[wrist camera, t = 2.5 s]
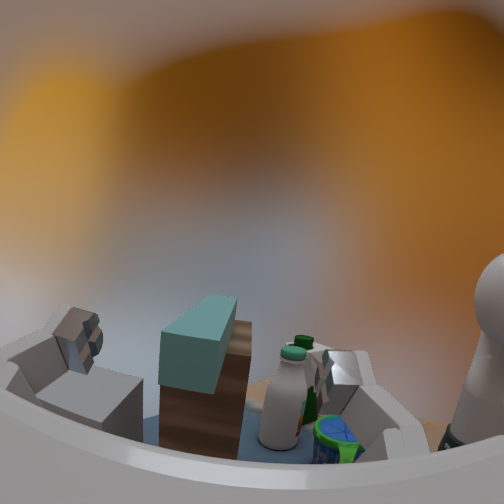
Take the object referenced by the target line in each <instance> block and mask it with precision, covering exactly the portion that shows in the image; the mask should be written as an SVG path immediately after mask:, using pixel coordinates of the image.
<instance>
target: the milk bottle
mask: <svg viewBox="0 0 504 504" xmlns="http://www.w3.org/2000/svg"><path fill="white" fill-rule="evenodd" d="M306 355H307V351H306V350H305V349H304V348H301V347H297V346H284V347H282V349H281V357H280V359H281V362H280V365H279V368H278V369H277V371H276V372H275V374H274V375H273V377H272V378H271V380H270V382H269V384H268V387H267V391H266V395H265V401H264V406H263V412H262V418H261V424H260V430H259V436H258V438H259V441H260V443H261V444H262V445H264V446H265V447H267V448H270V449H274V450H288V449H291V448H293V447H294V446H295V445H296V444H297V441H298V437H299V433H300V429H301V424H302V420H303V415H304V410H305V405H306V400H307V383H306V379H305V376H304V370H303V364H304V363H305V359H306Z"/></svg>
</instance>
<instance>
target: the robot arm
mask: <svg viewBox="0 0 504 504" xmlns="http://www.w3.org/2000/svg"><path fill="white" fill-rule="evenodd" d="M474 308H475V314H476V318H477V321H478V324H479V326H480V328H481V329H482V331H481V335H480V338H479V342H478V345H477V349H476V351H475V354H474V357H473V360H472V363H471V366H470V368H469V371H468V373H467V375H466V378H465V383H464V385H463V389H462V392H461V395H460V399H459V402H458V405H457V408H456V411H455V414H454V417H453V419H452V422H451V424H449V425H448V426H447V429H446V430H445V432H444V434H443V437H442V439H441V441H440V444H439V446H438V451H437V452H433V453H430V451H429V447H428V443H427V440H426V436H425V433H424V430H423V426H422V424H421V423H420V422H419V421H418V420H417V419H415V418H414V417H413V416H412V415H411V414H410V413H409V412H408V411H407V410H406V409H405V408H404V407H403V406H401V404H400V403H398V402H397V401H396V400H395V399H394V398H393V397H392V396H391V395H390V394H389V393H388V392H387V391H385V389H384V388H383V387H382V386H377V383H376V380H375V376H374V373H373V370H372V366H371V362H370V359H369V356H368V353H367V352H366V351H354V350H353V351H352V350H335V349H326V350H325V351H324V352H323V355H322V361H323V362H322V363H320V364H318V367H317V370H316V374H315V390H316V391H317V392H318V393H319V394H318V396H317V398H316V403H317V413H318V414H323V415H340V417H341V418H342V420H343V421H344V422H345V424H346V425H347V427H348V428H349V429H350V431H351V432H352V433H353V435H354V436H355V437H356V439H357V440H358V441H359V443H360V444H361V445H362V447H363V448H364V449H365V452H364V453H363V454H362V455H361V456H360V457H359V458H358V459H357V460H356V461H355V462H354V463H343V464H278V463H262V462H250V461H240V460H231V459H223V458H216V457H209V456H203V455H197V454H191V453H186V452H180V451H175V450H171V449H166V448H162V447H157V446H153V445H149V444H145V443H141V442H137V441H134V440H130V439H127V438H123V437H120V436H116V435H113V434H110V433H107V432H104V431H101V430H98V429H95V428H92V427H89V426H86V425H83V424H81V423H78V422H75V421H73V420H70V419H68V418H65V417H63V416H60V415H58V414H55V413H53V412H51V411H48V410H46V409H44V408H42V406H41V403H40V402H39V400H38V398H37V397H36V394H37V393H38V392H40V391H41V390H43V389H44V388H45V387H47V386H48V385H50V384H51V383H52V382H54V381H55V380H57V379H58V378H59V377H61V376H62V375H64V374H65V373H66V372H68V370H71V371H74V372H77V373H81V374H84V375H88V373H89V371H90V369H91V367H92V365H93V363H94V361H93V357H94V356H96V355H97V354H99V352H100V350H101V348H102V344H103V333H102V330H101V329H100V328H99V327H98V323H99V317H98V315H97V314H96V313H93V312H89V311H86V310H82V309H79V308H75V307H71V306H67V305H64V304H63V305H61V306H60V307H59V308H58V309H57V310H56V312H55V313H54V314H53V315H52V317H51V318H50V319H49V321H48V322H47V323H46V325H45V326H44V328H43V329H42V330H41V331H39V330H37V331H35V332H33V333H30V334H29V335H26V336H24V337H22V338H20V339H18V340H16V341H14V342H12V343H10V344H7V345H5V346H3V347H1V348H0V504H504V254H501V255H500V256H498V257H496V258H495V259H494V260H492V261H491V262H490V263H489V264H488V266H487V267H486V268H485V269H484V271H483V272H482V274H481V276H480V278H479V280H478V283H477V286H476V290H475V296H474Z"/></svg>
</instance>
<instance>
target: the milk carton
mask: <svg viewBox="0 0 504 504" xmlns="http://www.w3.org/2000/svg"><path fill="white" fill-rule="evenodd" d="M313 341H314V338H313V337H310V336H305V335H296V336H295V340H294V342H288V343H285V346H297V347H301V348H304V349H305V350H306V351H307V355H306V359H305V363H304V364H303V370H304V376H305V379H306V383H307V400H306V405H305V410H304V415H303V420H302V424H301V425H304V424H306V423H309V422H312V421H315V420H317V417H318V413H317V403H316V398H317V396H318V394H319V393H318V392H317V391H316V390H315V374H316V370H317V367H318V364H320V363H322V362H323V361H322V355H323V352H324V351H325V350H326V349H333V348H330V347H327V346H324V345H321V344H318V343H315V342H313Z"/></svg>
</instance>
